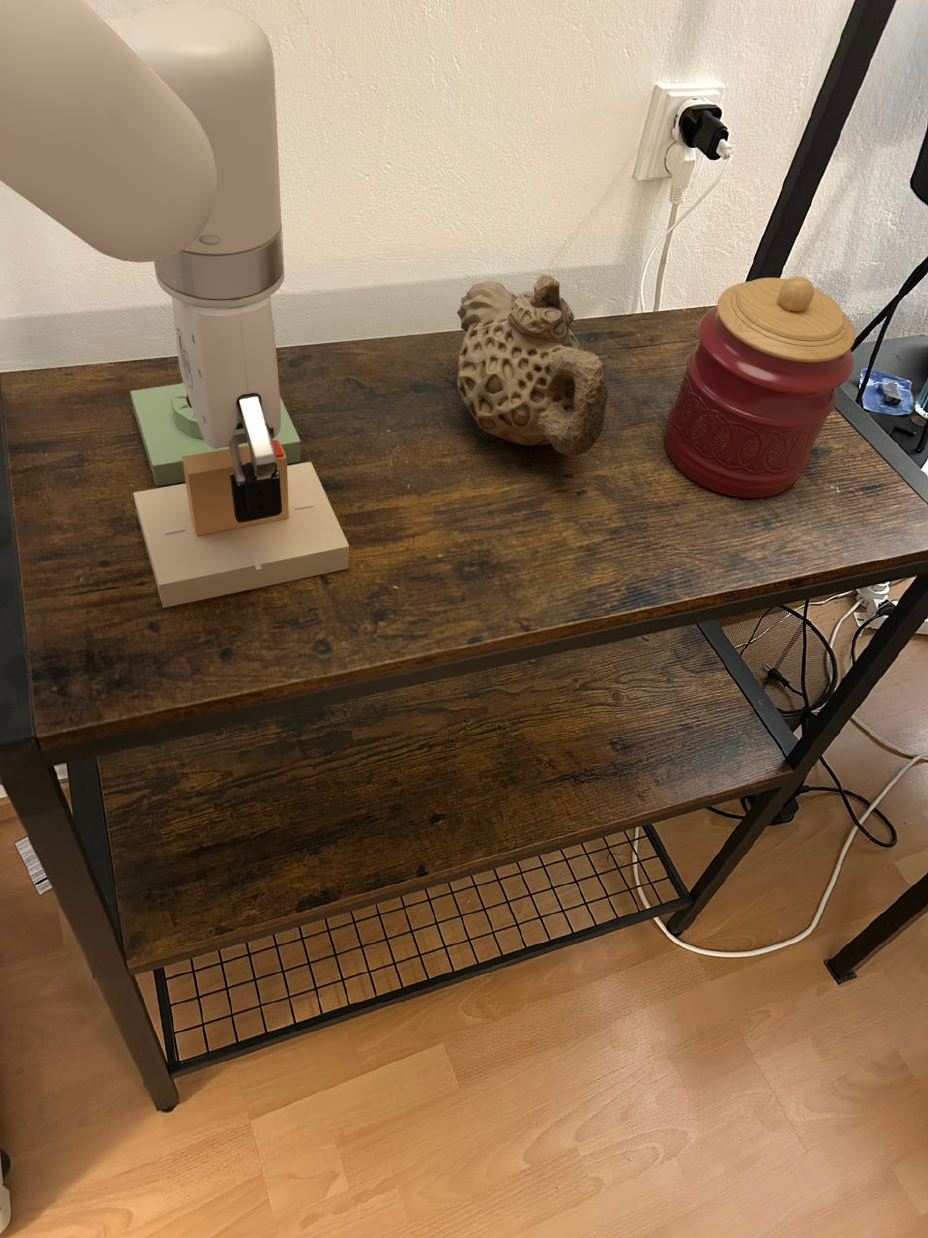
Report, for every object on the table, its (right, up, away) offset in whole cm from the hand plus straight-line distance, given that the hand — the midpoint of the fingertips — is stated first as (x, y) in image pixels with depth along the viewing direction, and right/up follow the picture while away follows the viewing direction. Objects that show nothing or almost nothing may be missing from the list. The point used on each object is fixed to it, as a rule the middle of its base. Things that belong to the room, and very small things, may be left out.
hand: (241, 470), depth 70 cm
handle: (-1, -3, +3) cm, 4 cm away
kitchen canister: (+41, +4, +19) cm, 45 cm away
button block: (-5, +5, +13) cm, 15 cm away
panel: (-1, -5, +5) cm, 7 cm away
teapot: (+21, +6, +18) cm, 28 cm away
